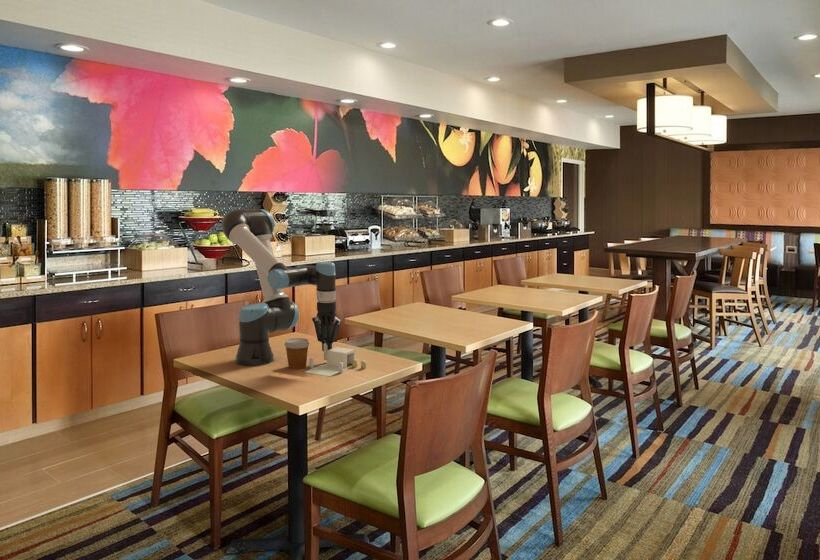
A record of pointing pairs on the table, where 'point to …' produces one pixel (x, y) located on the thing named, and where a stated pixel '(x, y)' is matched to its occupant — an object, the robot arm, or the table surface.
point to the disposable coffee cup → (297, 352)
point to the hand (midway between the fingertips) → (327, 359)
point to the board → (331, 368)
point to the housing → (340, 356)
